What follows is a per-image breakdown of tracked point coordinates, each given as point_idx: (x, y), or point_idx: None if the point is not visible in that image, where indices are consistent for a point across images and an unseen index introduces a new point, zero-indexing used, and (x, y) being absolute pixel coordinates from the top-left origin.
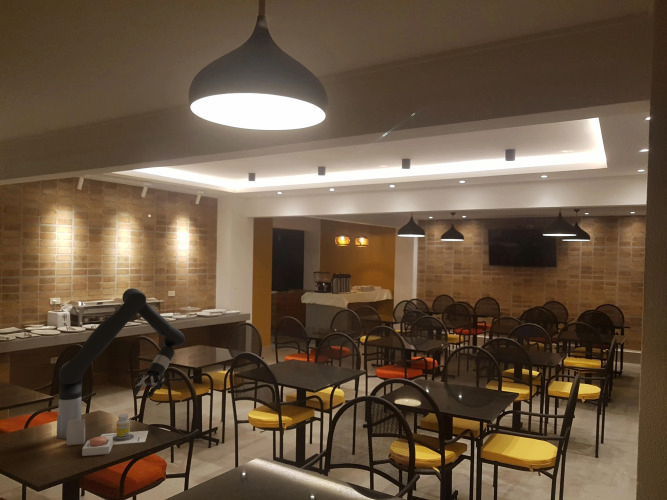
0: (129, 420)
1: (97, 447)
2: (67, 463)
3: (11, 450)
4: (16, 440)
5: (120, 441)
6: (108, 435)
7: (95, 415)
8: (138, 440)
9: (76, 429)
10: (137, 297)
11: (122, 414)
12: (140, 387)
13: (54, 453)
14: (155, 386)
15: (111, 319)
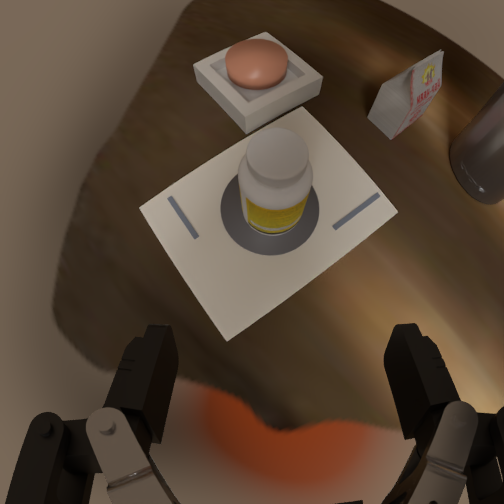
0: (248, 195)
1: (226, 49)
2: (259, 18)
3: (465, 55)
4: None
5: None
6: (358, 207)
7: None
8: (172, 204)
9: (401, 72)
10: None
11: (296, 161)
12: (415, 447)
13: (361, 47)
14: (89, 445)
15: None
